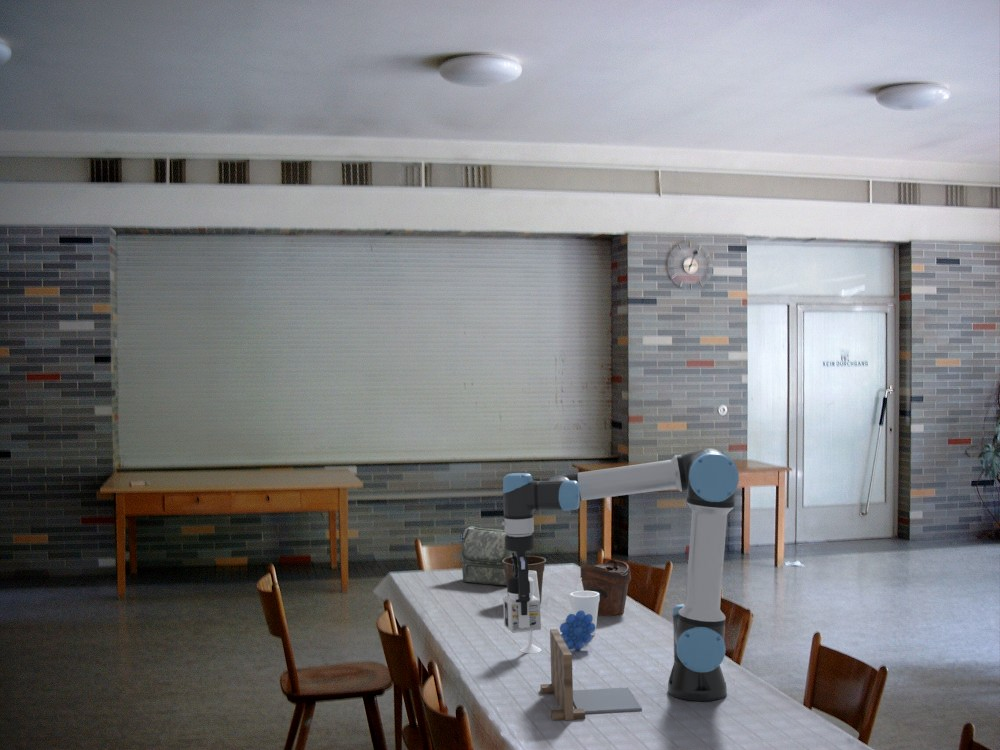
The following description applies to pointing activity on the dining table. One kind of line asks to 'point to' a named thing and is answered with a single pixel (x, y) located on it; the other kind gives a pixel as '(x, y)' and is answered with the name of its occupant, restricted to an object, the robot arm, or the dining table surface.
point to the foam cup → (585, 604)
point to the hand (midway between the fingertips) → (522, 622)
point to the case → (607, 585)
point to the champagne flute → (533, 574)
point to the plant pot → (533, 565)
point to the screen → (561, 679)
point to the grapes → (577, 630)
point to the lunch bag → (484, 555)
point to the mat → (605, 700)
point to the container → (512, 608)
